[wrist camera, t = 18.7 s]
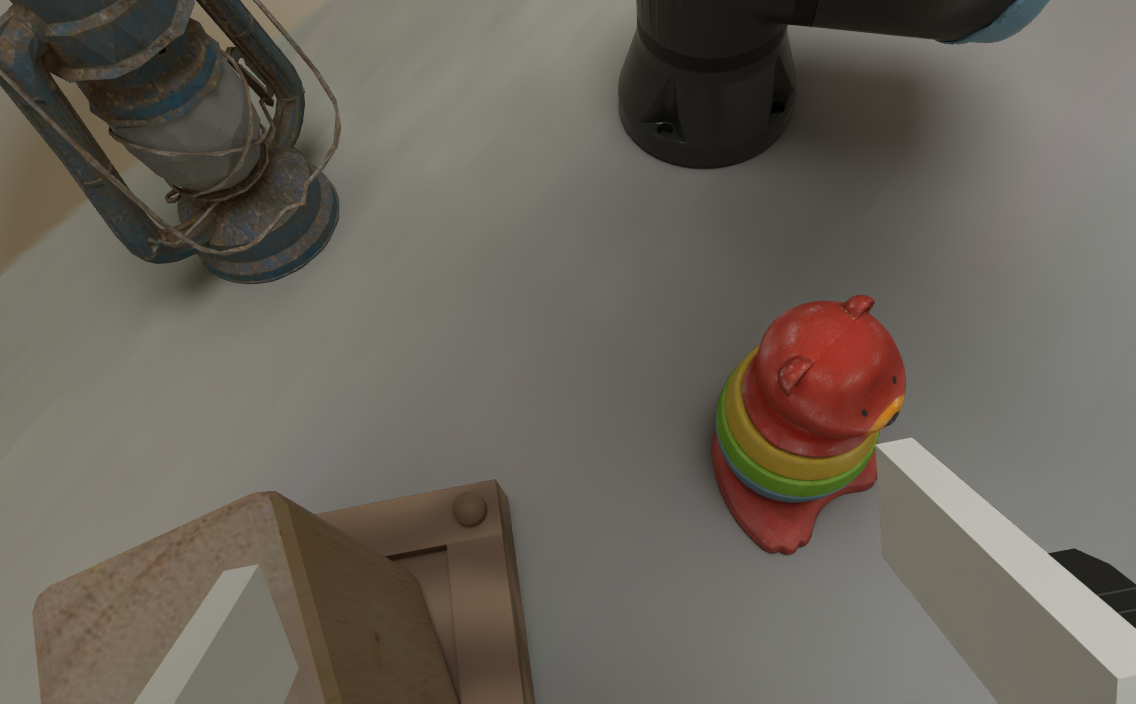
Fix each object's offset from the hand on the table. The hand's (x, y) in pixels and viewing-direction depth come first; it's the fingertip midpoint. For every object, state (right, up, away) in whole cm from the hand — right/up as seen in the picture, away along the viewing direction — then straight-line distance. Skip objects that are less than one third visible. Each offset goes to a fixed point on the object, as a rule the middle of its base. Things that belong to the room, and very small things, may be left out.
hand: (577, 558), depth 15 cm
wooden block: (-12, -15, +28) cm, 34 cm away
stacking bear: (+14, -3, +35) cm, 38 cm away
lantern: (-26, +15, +48) cm, 57 cm away
